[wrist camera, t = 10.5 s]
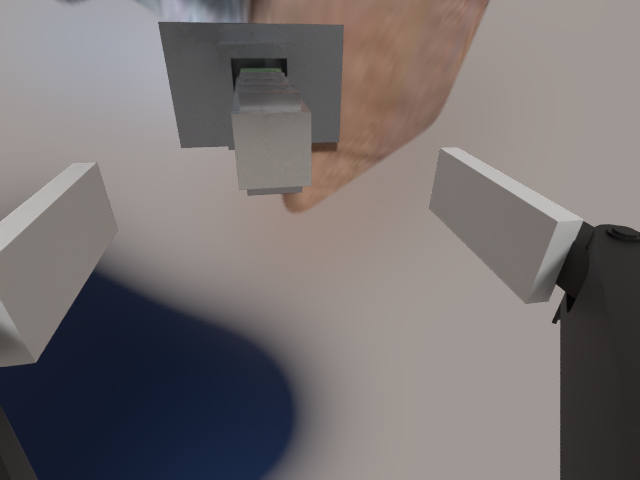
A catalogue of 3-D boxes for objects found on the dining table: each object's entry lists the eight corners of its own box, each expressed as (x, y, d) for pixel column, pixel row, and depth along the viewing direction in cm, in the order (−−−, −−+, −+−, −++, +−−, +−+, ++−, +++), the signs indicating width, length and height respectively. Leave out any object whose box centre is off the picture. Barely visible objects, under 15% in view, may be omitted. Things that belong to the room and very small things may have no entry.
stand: (182, 144, 41) (167, 174, 33) (160, 22, 35) (134, 20, 27) (336, 139, 44) (358, 165, 36) (341, 24, 38) (368, 24, 30)
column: (242, 132, 34) (240, 203, 20) (235, 66, 31) (229, 96, 17) (284, 130, 34) (311, 198, 21) (282, 65, 32) (311, 95, 18)
